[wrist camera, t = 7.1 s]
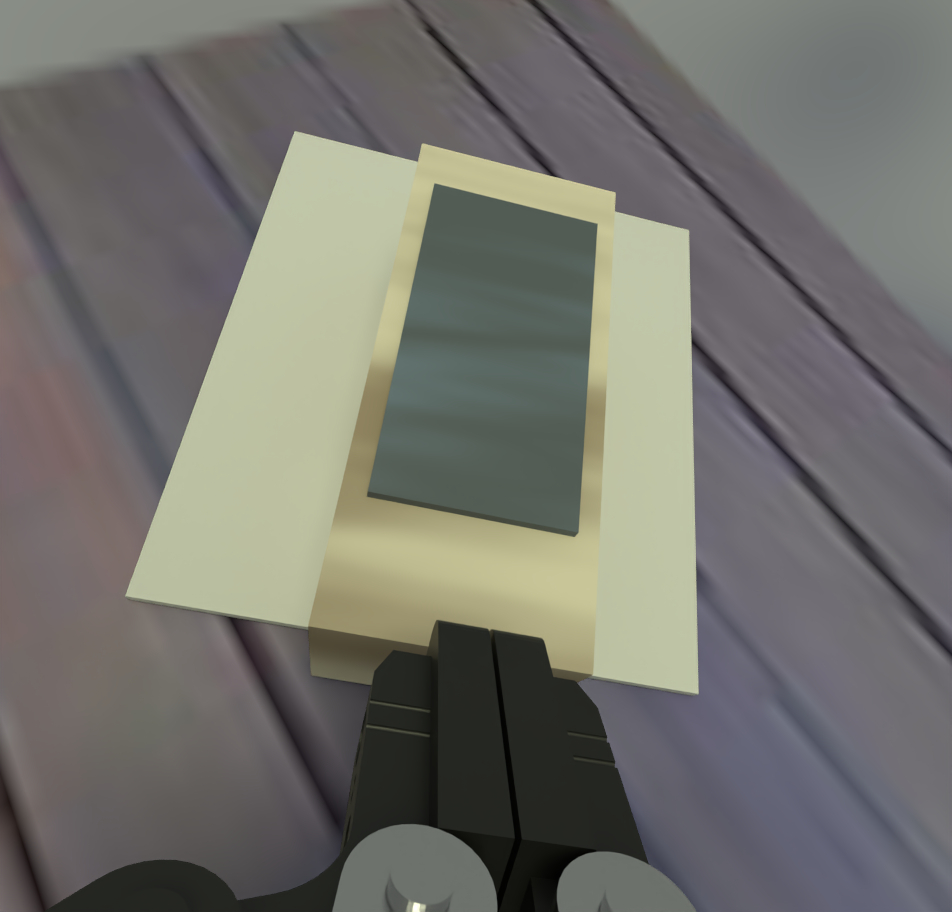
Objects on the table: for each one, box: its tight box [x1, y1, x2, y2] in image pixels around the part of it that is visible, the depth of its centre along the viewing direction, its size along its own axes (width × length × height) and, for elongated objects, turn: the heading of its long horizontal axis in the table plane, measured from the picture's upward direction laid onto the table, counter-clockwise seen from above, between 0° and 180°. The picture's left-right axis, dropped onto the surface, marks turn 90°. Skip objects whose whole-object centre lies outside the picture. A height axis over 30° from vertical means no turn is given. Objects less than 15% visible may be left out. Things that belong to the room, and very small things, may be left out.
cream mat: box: [125, 131, 698, 696], centre depth 21 cm, size 16×14×1 cm
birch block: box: [308, 143, 616, 685], centre depth 17 cm, size 5×5×12 cm
